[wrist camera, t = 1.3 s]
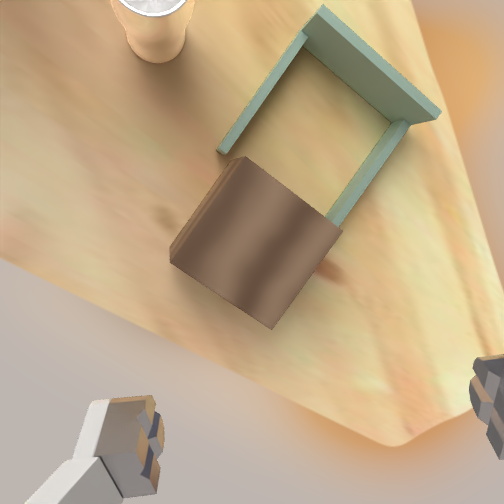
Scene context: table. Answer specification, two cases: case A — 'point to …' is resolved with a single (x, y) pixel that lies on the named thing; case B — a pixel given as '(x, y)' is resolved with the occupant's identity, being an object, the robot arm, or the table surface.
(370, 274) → the table surface
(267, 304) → the walnut block
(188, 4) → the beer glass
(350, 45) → the green bay
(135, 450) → the robot arm
